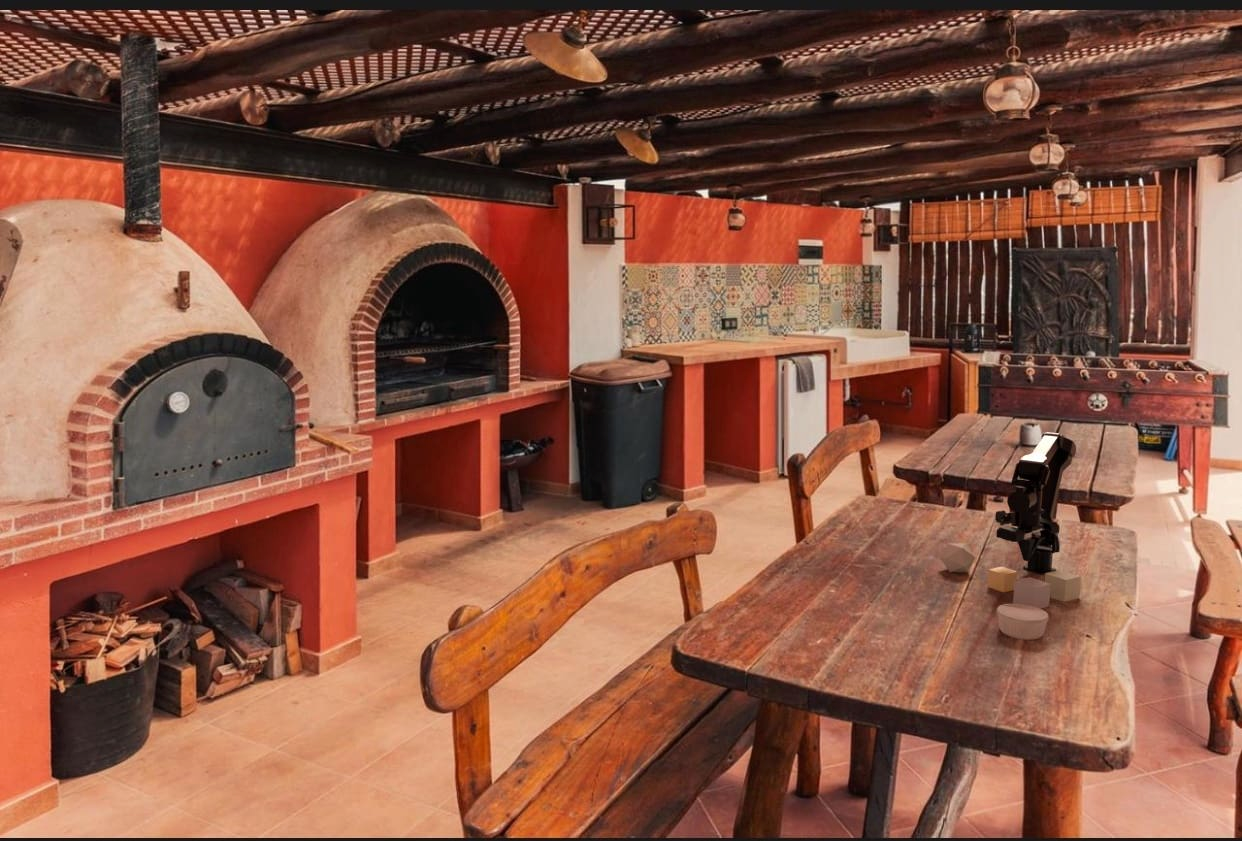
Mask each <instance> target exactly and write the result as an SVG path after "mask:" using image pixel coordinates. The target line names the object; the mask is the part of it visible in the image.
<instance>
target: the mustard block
mask: <svg viewBox="0 0 1242 841" xmlns="http://www.w3.org/2000/svg"><path fill="white" fill-rule="evenodd" d="M987 579H988V580H987V587H988V588H990V589H993V590H996V591H998V592H1002V593H1008V592H1010V591H1014V582H1015V581H1016V580H1018V571H1017V570H1013V569H1010V568H1007V567H1004V566H999V567H993V568H989V569H988V578H987Z"/></svg>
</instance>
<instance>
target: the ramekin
mask: <svg viewBox="0 0 1242 841" xmlns="http://www.w3.org/2000/svg"><path fill="white" fill-rule="evenodd" d="M996 614H997V620H998V621H997V622H998V628H999V630H1000V631H1001V632H1002V633H1003V634H1004V635H1005V636H1008V637H1011V638H1014V639H1018V640H1025V641H1031V640H1037V639H1040V638H1041V637H1043V636H1044V634H1045V630H1046V627H1047V622H1048V621H1049V613H1047V611H1045V610H1043V609H1042V608H1041V609H1039V608H1036V607H1033V606H1028V605H1022V604H1015V603H1004V604H1001V605H999V606H998V607H996Z"/></svg>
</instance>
